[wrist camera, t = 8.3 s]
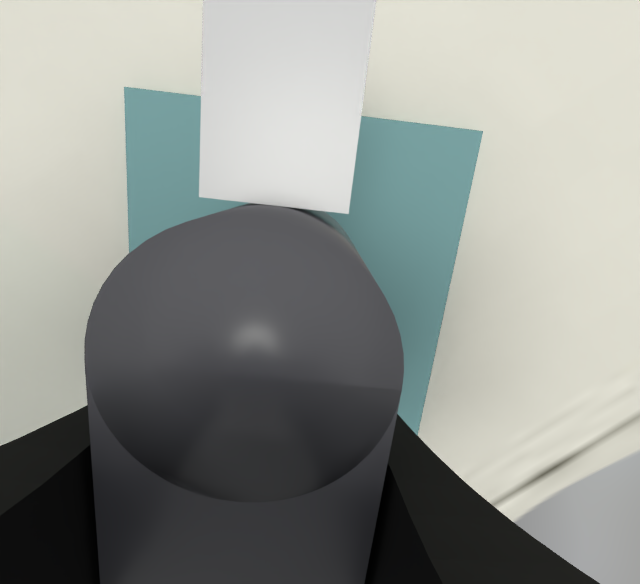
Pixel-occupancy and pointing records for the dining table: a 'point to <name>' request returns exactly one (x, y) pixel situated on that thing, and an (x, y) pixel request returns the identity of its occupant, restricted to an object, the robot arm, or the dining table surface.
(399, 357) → the cylinder
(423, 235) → the charging mat
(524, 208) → the dining table surface
